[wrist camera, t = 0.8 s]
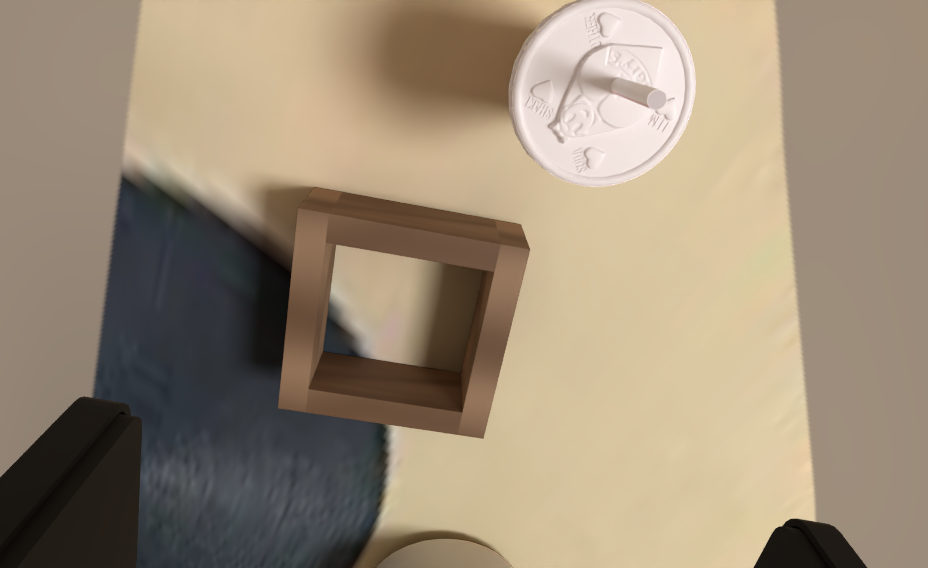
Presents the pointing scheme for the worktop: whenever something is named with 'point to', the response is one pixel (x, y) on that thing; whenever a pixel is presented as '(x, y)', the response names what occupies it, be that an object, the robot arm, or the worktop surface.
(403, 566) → the saucepan
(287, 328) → the wooden frame
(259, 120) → the worktop surface
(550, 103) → the smoothie
